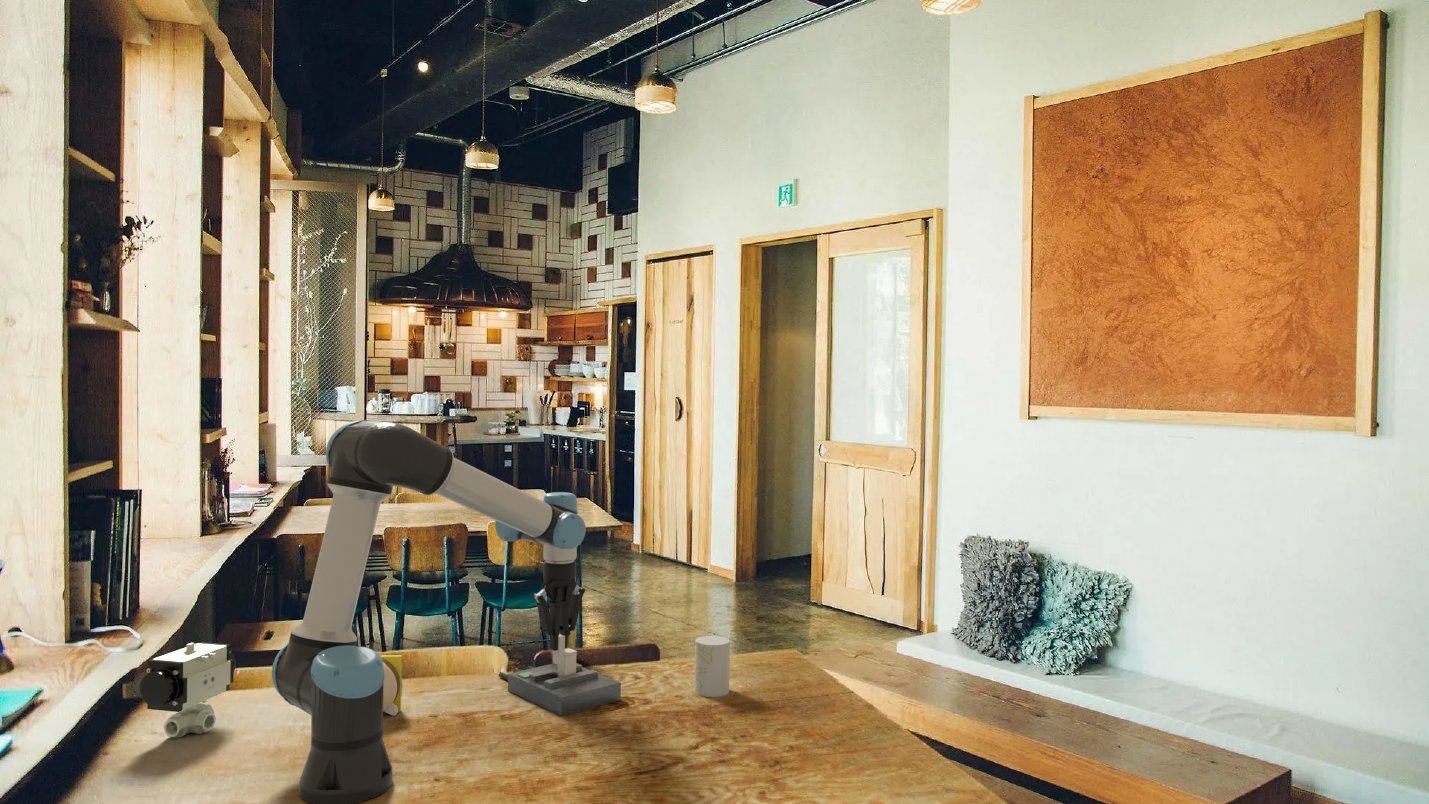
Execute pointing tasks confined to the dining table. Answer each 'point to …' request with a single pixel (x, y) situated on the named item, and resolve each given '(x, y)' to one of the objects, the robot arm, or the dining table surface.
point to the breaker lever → (568, 663)
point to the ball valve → (188, 685)
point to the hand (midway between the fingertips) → (558, 663)
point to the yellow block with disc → (392, 683)
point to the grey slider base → (563, 688)
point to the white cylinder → (712, 666)
